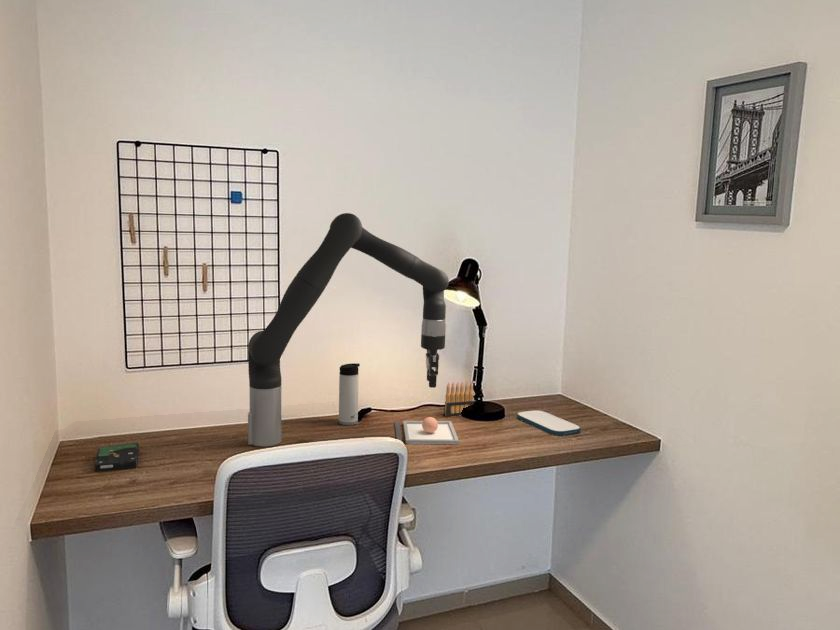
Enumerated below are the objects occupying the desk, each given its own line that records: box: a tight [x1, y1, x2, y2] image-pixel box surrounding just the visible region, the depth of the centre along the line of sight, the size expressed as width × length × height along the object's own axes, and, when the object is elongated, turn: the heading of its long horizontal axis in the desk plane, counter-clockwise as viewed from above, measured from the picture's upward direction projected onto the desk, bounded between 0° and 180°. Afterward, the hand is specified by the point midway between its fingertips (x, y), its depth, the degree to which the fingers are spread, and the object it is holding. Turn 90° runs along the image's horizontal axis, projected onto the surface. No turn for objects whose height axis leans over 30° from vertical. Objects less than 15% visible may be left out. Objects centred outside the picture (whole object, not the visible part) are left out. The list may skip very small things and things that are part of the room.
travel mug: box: [338, 362, 361, 426], centre depth 219 cm, size 6×7×20 cm
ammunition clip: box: [443, 381, 475, 418], centre depth 232 cm, size 11×2×12 cm, turn 111°
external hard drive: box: [516, 409, 581, 437], centre depth 225 cm, size 24×12×2 cm, turn 28°
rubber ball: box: [422, 416, 438, 433], centre depth 211 cm, size 5×5×5 cm
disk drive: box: [94, 442, 140, 473], centre depth 180 cm, size 10×3×15 cm
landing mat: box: [394, 420, 460, 445], centre depth 211 cm, size 19×22×1 cm
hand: (431, 383), depth 209 cm, fingers open, 8 cm apart
